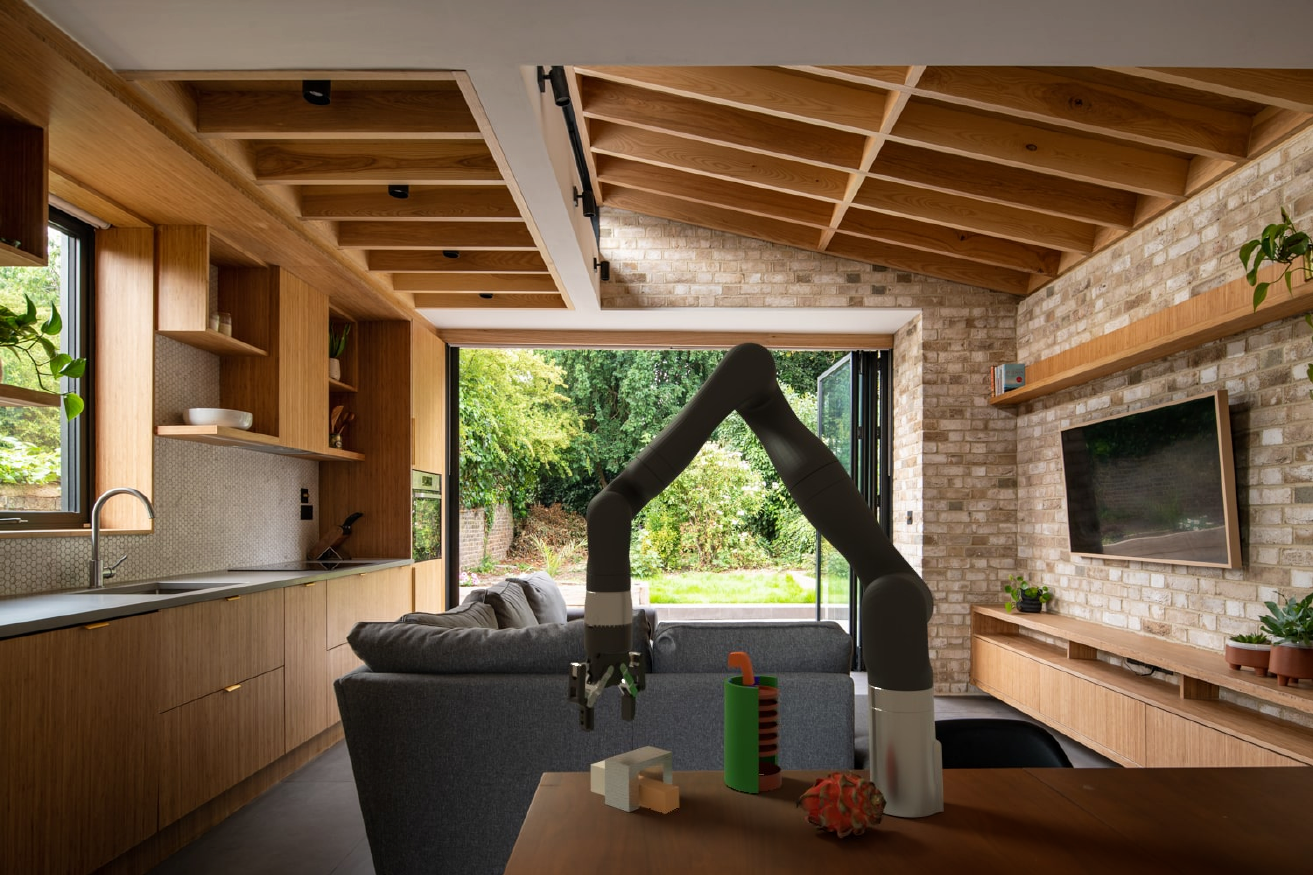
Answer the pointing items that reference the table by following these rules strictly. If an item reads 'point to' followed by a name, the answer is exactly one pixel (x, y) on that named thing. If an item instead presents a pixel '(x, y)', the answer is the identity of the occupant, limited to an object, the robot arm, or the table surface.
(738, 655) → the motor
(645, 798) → the plug
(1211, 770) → the table surface
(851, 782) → the dragon fruit
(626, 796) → the block
